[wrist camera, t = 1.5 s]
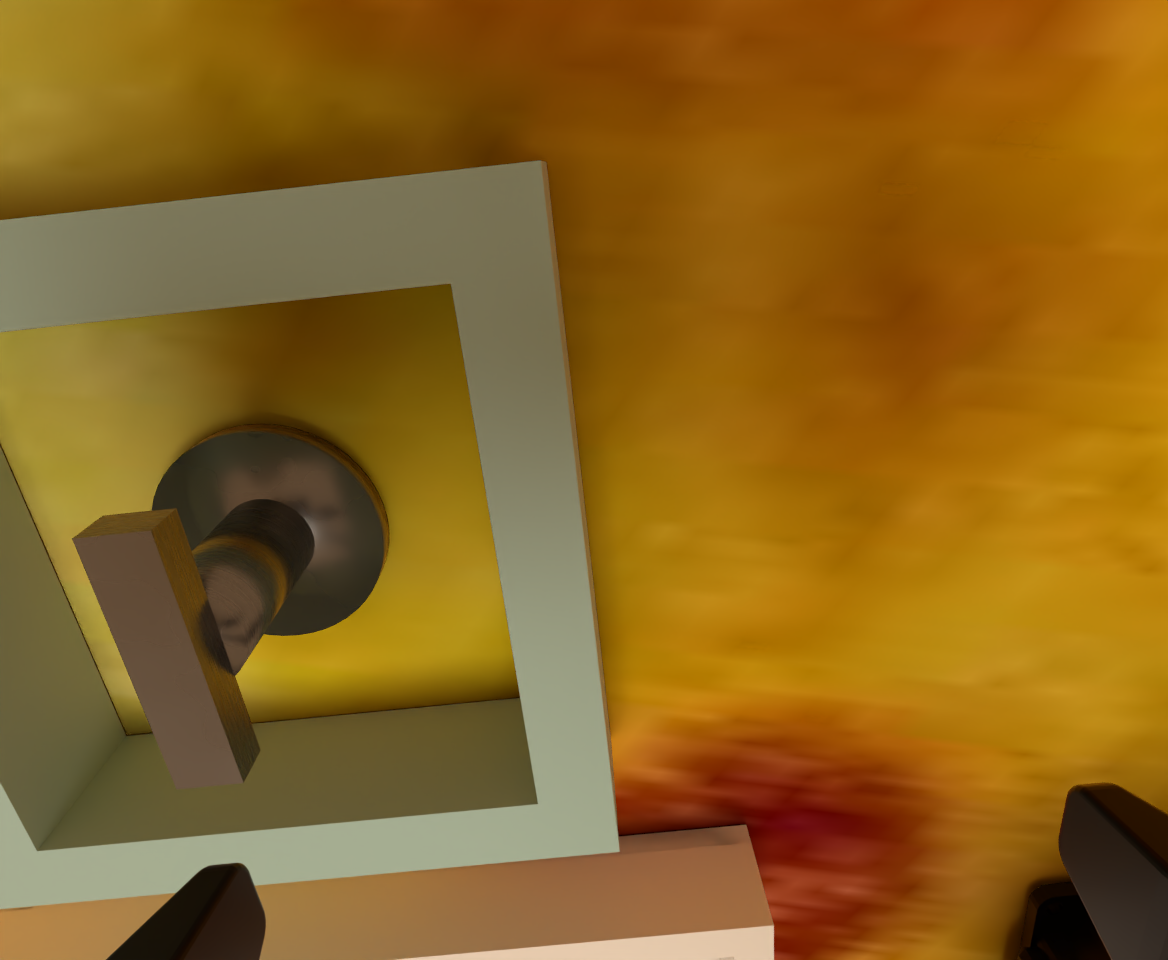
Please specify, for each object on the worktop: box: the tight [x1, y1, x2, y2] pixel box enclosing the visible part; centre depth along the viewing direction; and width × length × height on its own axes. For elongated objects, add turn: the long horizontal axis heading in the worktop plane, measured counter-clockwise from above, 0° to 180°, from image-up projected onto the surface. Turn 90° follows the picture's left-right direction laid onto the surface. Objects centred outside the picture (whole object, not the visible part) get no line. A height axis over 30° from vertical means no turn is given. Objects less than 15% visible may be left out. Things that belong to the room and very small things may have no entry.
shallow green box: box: [0, 160, 620, 909], centre depth 15 cm, size 14×14×4 cm
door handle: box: [73, 424, 389, 789], centre depth 15 cm, size 5×5×5 cm
